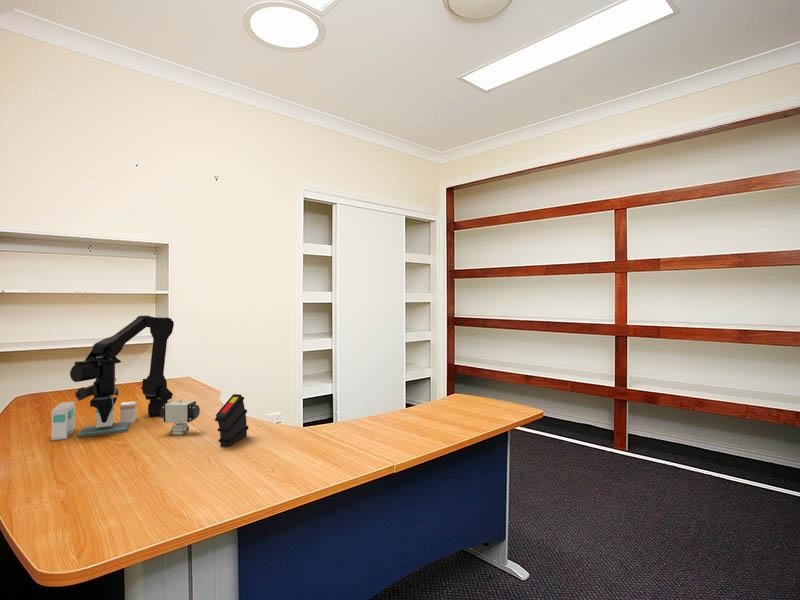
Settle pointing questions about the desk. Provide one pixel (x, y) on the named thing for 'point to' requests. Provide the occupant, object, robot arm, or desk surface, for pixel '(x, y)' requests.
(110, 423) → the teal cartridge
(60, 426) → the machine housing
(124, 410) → the light grey boxy piece
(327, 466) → the desk surface
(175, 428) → the pneumatic valve
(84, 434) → the plate
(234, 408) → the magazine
